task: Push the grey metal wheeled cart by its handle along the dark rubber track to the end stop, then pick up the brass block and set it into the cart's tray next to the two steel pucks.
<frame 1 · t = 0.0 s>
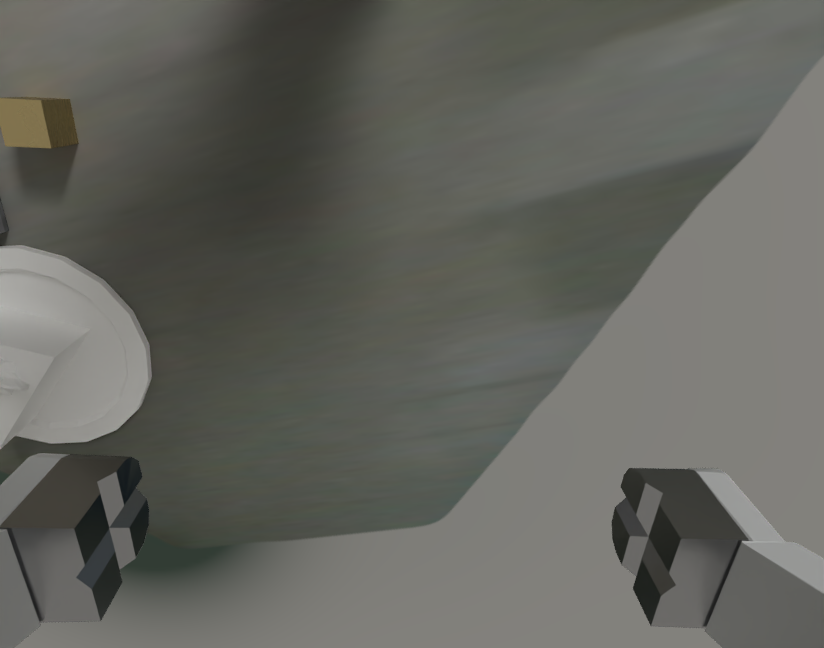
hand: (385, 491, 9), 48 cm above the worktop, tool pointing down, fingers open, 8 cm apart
dish: (43, 347, 61), on the worktop
brass block: (53, 120, 51), on the worktop
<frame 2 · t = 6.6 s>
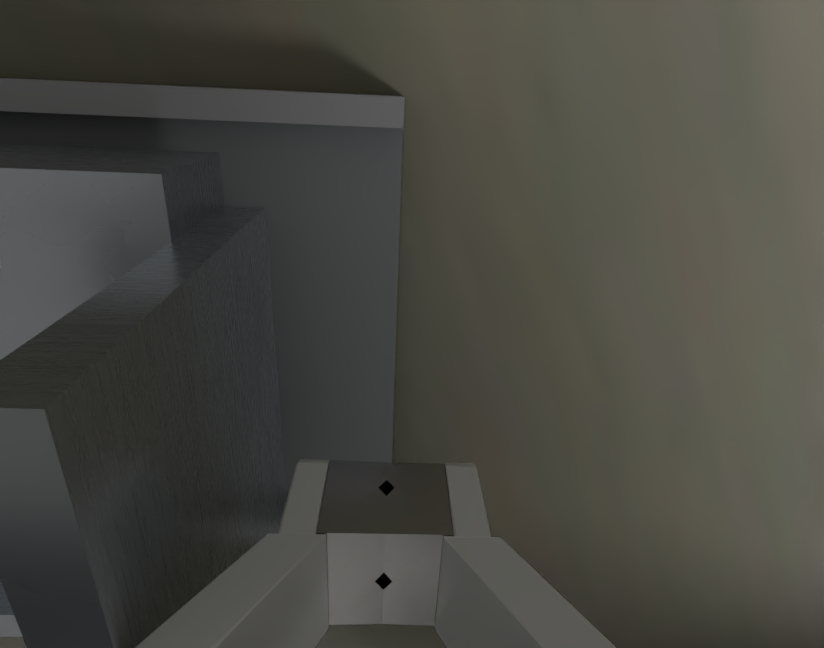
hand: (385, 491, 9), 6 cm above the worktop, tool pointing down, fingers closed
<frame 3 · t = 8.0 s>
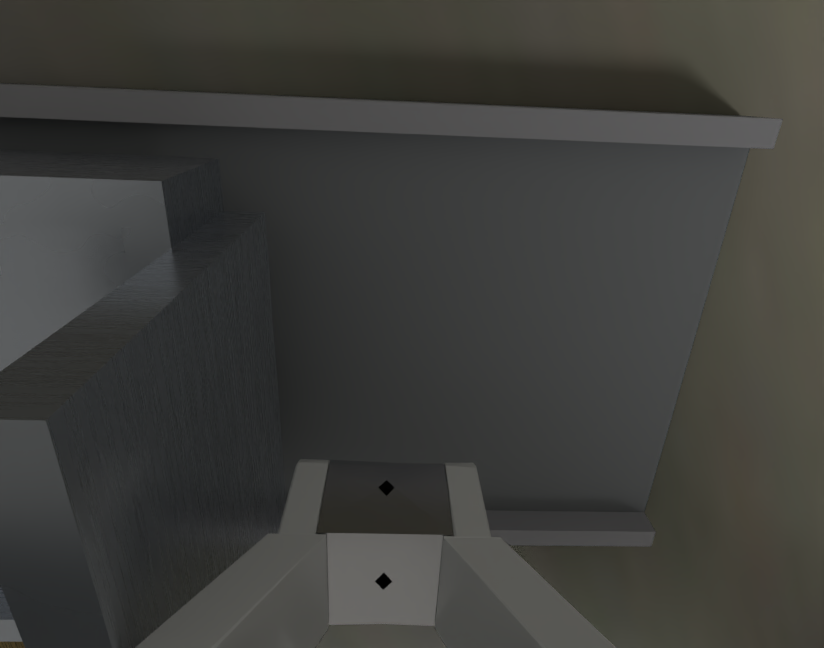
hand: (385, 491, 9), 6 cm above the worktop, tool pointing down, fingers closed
track: (60, 332, 14), on the worktop
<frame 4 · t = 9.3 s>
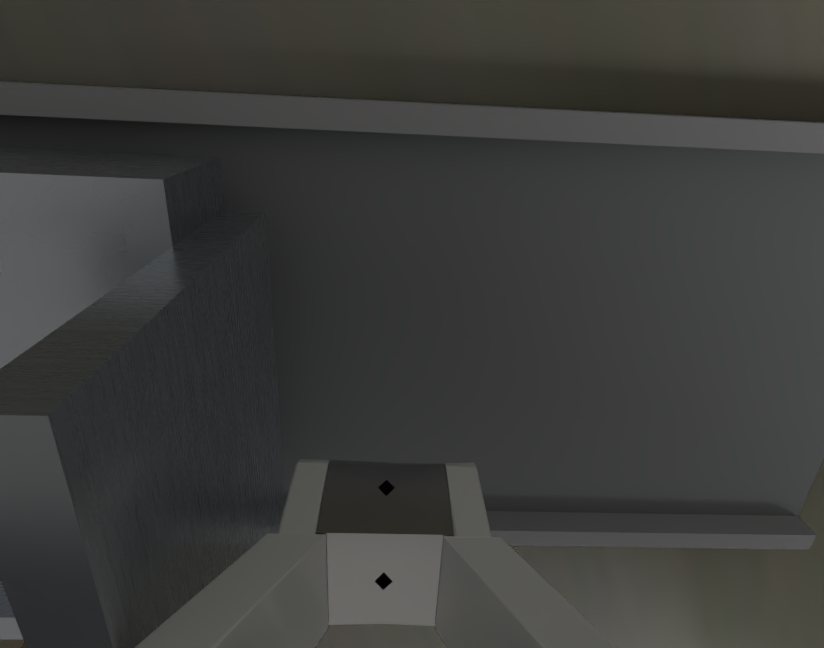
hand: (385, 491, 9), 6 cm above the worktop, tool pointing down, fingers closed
track: (250, 336, 14), on the worktop
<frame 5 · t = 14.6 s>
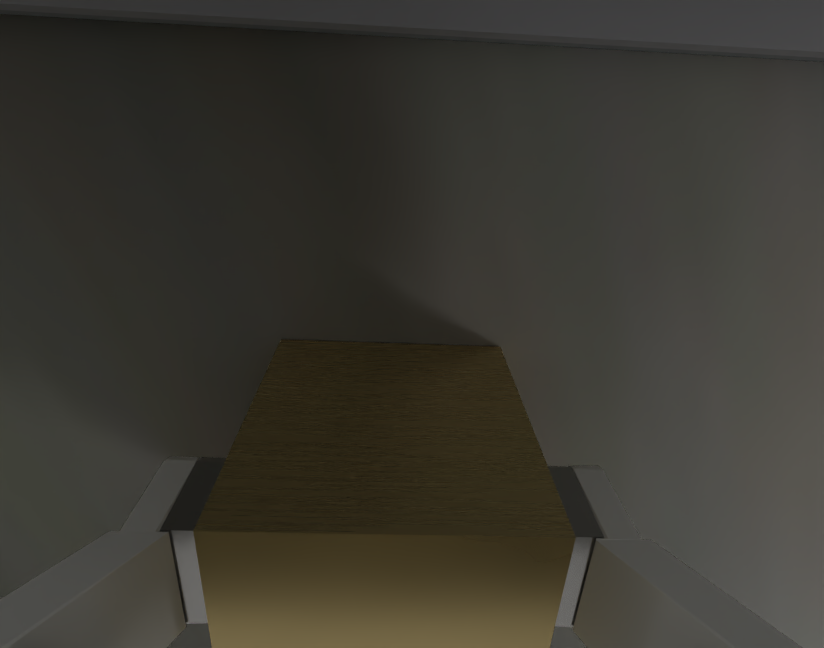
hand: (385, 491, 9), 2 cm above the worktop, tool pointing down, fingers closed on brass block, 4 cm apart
brass block: (388, 433, 10), on the worktop, touching gripper
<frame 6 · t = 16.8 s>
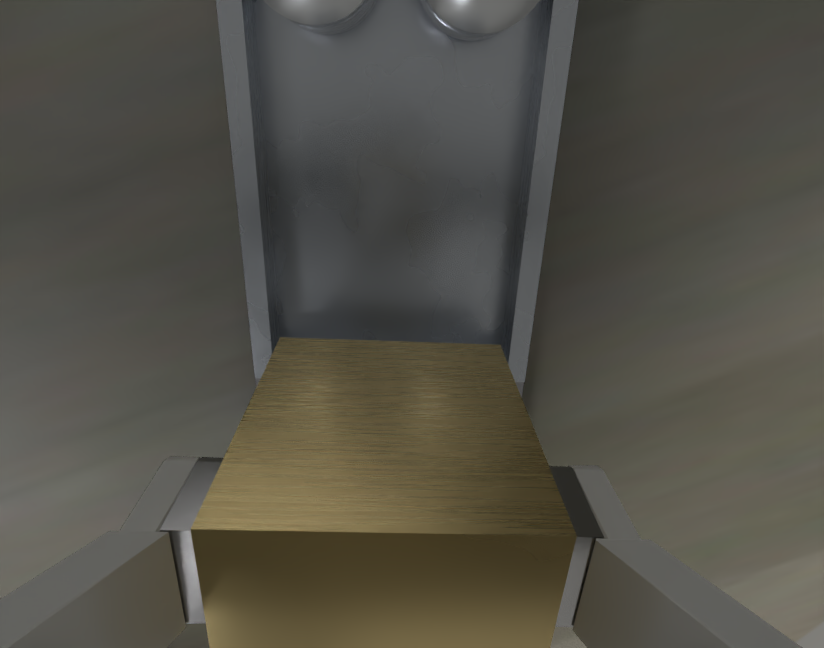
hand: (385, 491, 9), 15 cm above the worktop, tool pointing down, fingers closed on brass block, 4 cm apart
cart: (395, 168, 16), point 5 cm above the worktop, slide at 14.1 cm, touching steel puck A, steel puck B
brass block: (387, 432, 10), point 14 cm above the worktop, touching gripper
when the fingers open (6 cm above the worktop, at t = 18.9 s): brass block stays where it is, resting on cart.
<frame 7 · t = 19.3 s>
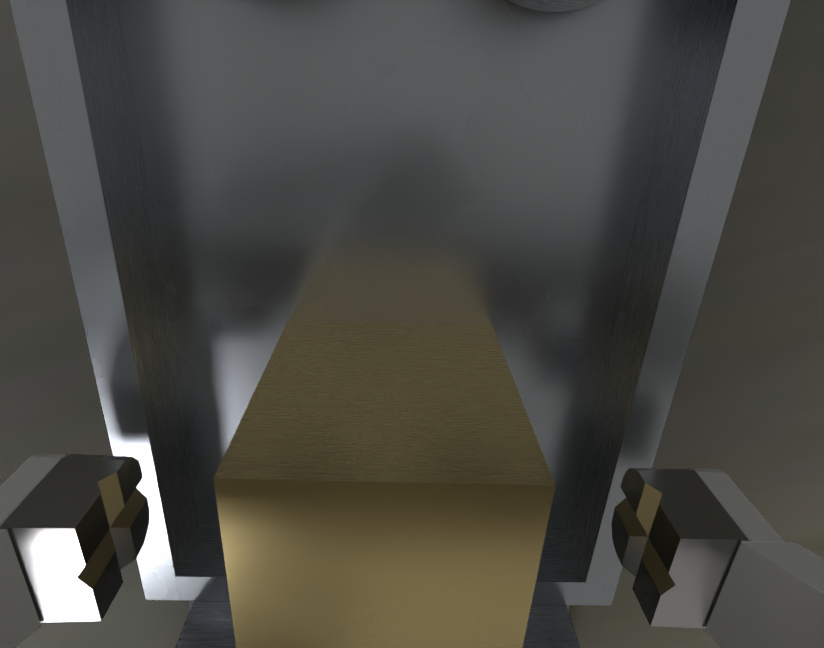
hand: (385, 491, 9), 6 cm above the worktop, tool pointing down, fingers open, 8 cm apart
cart: (396, 264, 8), point 5 cm above the worktop, slide at 14.1 cm, touching brass block, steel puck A, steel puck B
brass block: (388, 410, 11), point 4 cm above the worktop, touching cart
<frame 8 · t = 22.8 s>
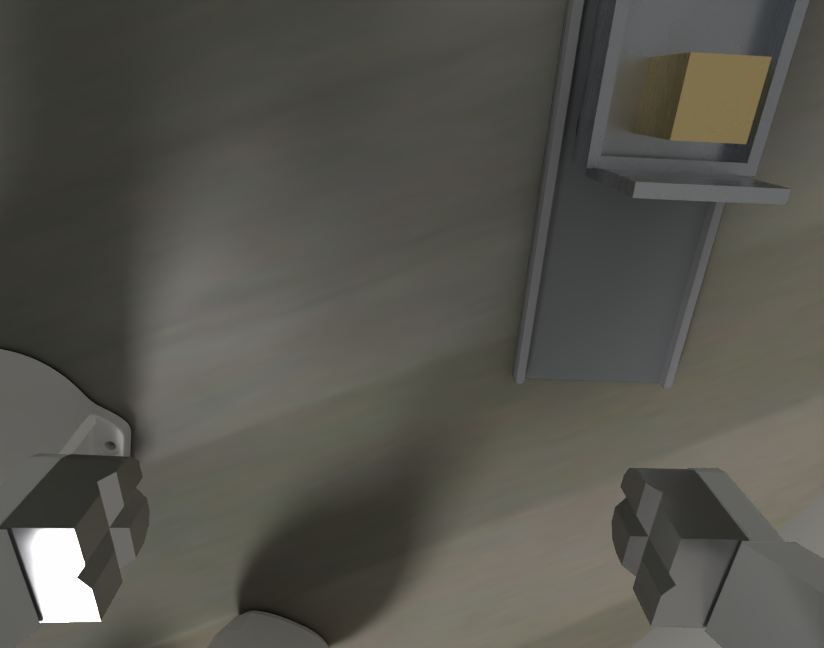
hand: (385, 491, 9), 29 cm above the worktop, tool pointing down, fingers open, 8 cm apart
cart: (708, 21, 27), point 5 cm above the worktop, slide at 14.1 cm, touching brass block, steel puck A, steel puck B
soap bottle: (279, 633, 54), on the worktop
track: (635, 154, 35), on the worktop
brass block: (675, 98, 30), point 4 cm above the worktop, touching cart
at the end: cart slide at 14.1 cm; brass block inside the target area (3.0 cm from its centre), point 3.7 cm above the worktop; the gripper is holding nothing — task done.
